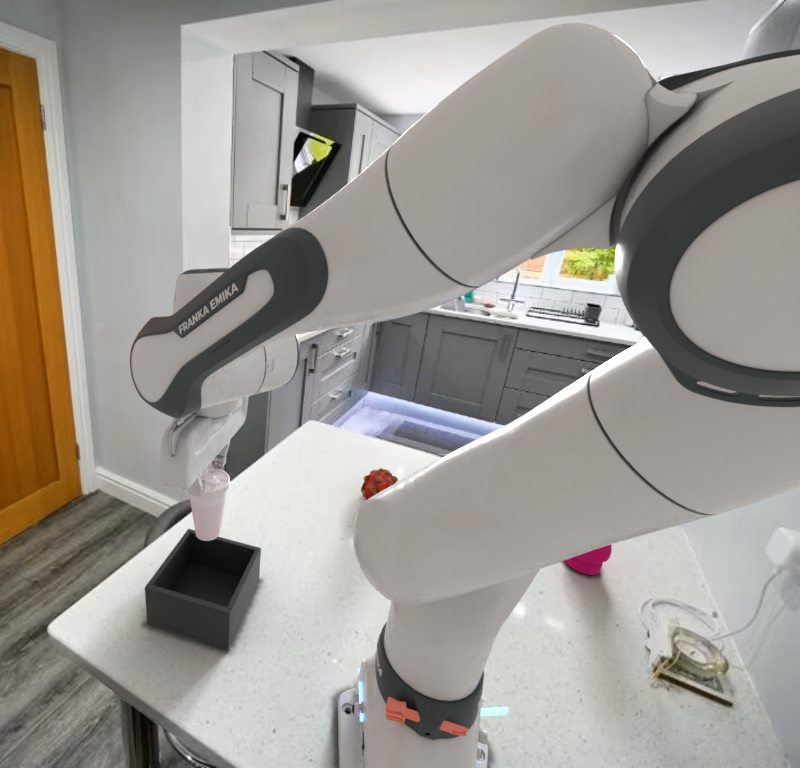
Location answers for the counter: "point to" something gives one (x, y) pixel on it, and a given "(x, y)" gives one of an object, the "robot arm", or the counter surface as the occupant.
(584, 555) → the pepper mill
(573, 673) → the counter surface
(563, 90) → the robot arm
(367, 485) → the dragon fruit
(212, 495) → the smoothie
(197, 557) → the basket
